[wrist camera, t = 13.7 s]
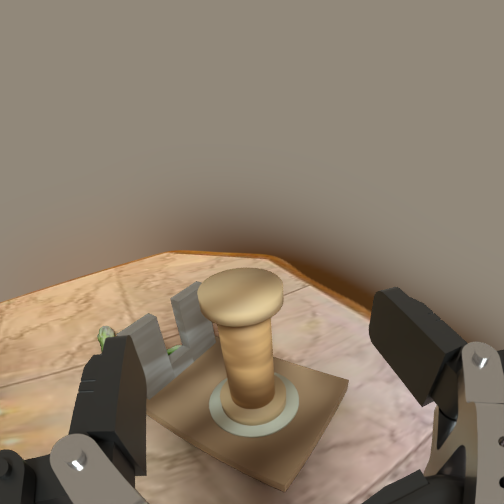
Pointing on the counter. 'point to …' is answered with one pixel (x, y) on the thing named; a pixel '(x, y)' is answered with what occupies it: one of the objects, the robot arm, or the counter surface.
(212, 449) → the board
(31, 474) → the robot arm
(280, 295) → the bobbin
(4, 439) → the counter surface
